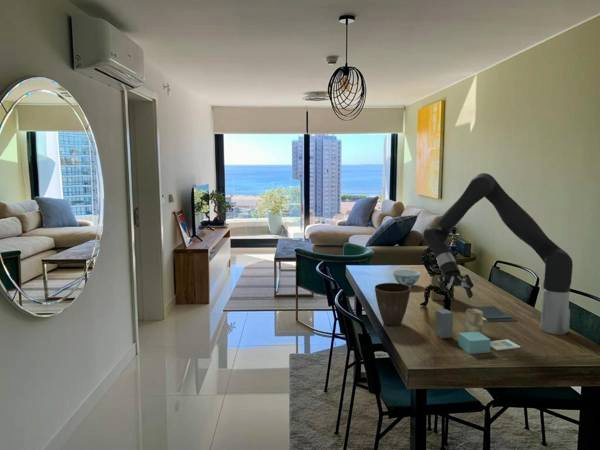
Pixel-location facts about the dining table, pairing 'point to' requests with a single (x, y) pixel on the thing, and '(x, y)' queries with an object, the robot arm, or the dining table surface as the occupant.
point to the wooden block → (435, 282)
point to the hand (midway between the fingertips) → (461, 298)
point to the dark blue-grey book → (493, 314)
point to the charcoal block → (444, 323)
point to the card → (503, 345)
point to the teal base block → (474, 342)
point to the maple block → (473, 320)
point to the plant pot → (392, 302)
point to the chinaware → (406, 277)
